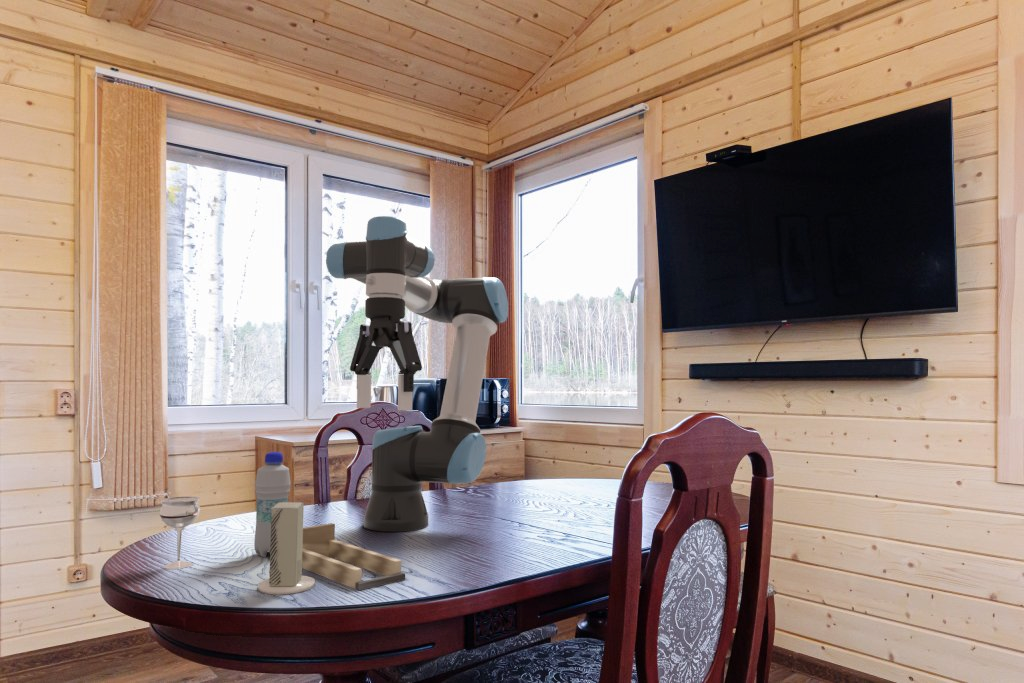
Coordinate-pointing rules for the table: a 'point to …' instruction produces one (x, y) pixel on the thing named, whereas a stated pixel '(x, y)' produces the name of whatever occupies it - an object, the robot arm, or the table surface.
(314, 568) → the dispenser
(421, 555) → the table surface
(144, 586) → the table surface
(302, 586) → the coaster
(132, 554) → the table surface
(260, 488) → the bottle
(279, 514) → the box
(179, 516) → the wineglass
